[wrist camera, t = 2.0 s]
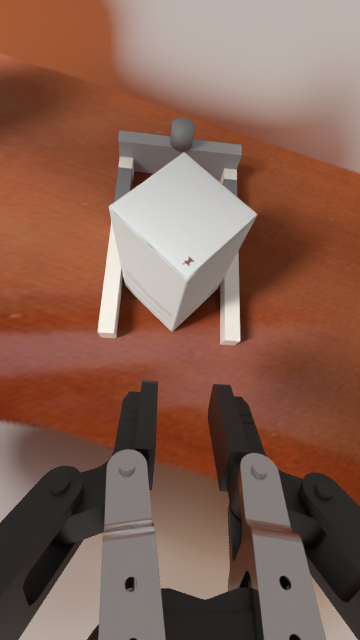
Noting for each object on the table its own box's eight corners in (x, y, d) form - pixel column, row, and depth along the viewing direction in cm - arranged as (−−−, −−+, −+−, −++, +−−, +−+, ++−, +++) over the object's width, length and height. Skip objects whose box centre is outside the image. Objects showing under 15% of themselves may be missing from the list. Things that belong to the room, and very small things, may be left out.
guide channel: (101, 337, 29) (88, 320, 23) (122, 157, 35) (117, 108, 30) (234, 345, 30) (254, 330, 24) (231, 169, 36) (247, 125, 31)
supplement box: (219, 288, 32) (263, 215, 20) (171, 334, 30) (186, 284, 18) (172, 243, 33) (185, 147, 21) (122, 284, 31) (104, 205, 19)
